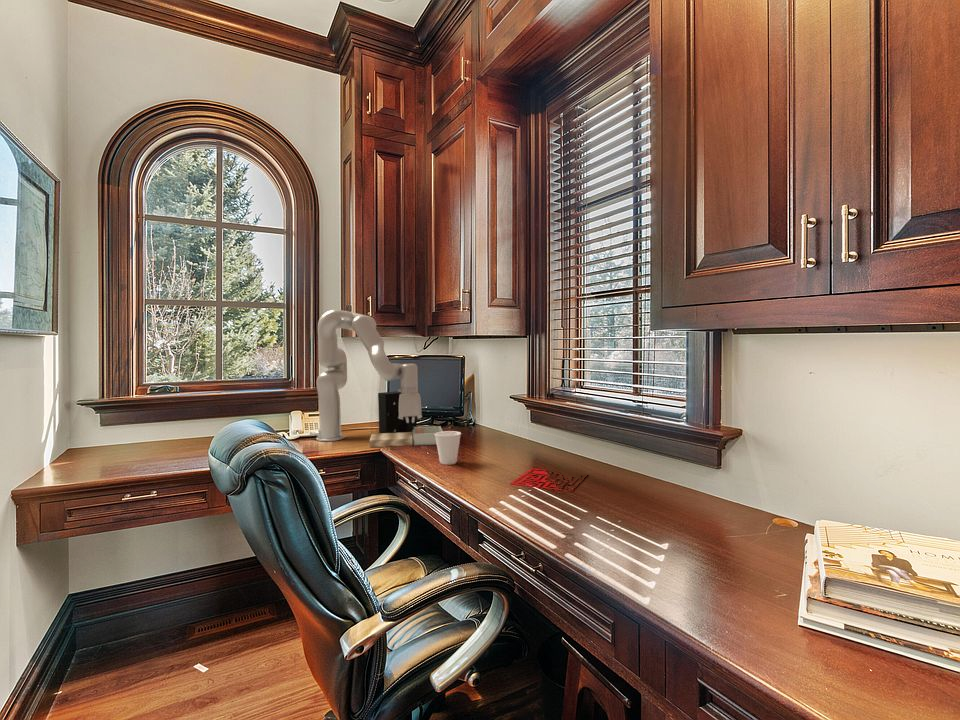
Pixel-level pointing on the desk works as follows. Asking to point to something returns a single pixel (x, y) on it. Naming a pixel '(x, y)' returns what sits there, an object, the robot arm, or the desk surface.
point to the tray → (425, 436)
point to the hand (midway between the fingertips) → (410, 431)
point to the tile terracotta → (420, 430)
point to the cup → (448, 446)
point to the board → (391, 439)
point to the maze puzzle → (534, 480)
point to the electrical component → (391, 414)
